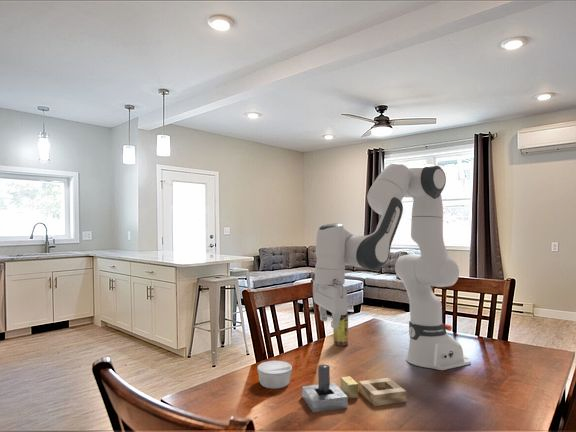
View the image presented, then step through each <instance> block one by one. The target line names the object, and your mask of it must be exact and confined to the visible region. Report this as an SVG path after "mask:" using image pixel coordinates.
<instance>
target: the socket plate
mask: <svg viewBox="0 0 576 432" xmlns="http://www.w3.org/2000/svg"><path fill="white" fill-rule="evenodd" d="M301 393H302V394H301V397H302V398H303V400H304V401H305V403H306V405H307V406H308V407H309V409H310V410H311V412H312V413H319V412H327V411H334V410H341V409H347V408H348V406H349V405H348V401H349V399H348V397H347V396H346V395H345V393H344V392H343V391H342V390H341V387H339V386H338V385H337V384H336V383H335V382H330V394H329V395H321V396H319V394H318V384H310V385H303V386H301Z"/></svg>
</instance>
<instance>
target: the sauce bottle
mask: <svg viewBox="0 0 576 432" xmlns="http://www.w3.org/2000/svg"><path fill="white" fill-rule="evenodd" d="M332 330H333V344H334V345H335V346H339V347H343V346H348V345H349V315H348V313H347V314H346V315H341V318H340V320H339V327H338V328H337V329H334V328H332Z"/></svg>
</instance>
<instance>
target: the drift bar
mask: <svg viewBox="0 0 576 432" xmlns="http://www.w3.org/2000/svg"><path fill="white" fill-rule="evenodd" d="M340 389H341V390H342V391H343V392H344V393H345V395H346V396H347V397H348V400H352V399H359V382H357V381H356V380H354V379H353V377H351V376H349V375H348V376H340Z"/></svg>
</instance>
